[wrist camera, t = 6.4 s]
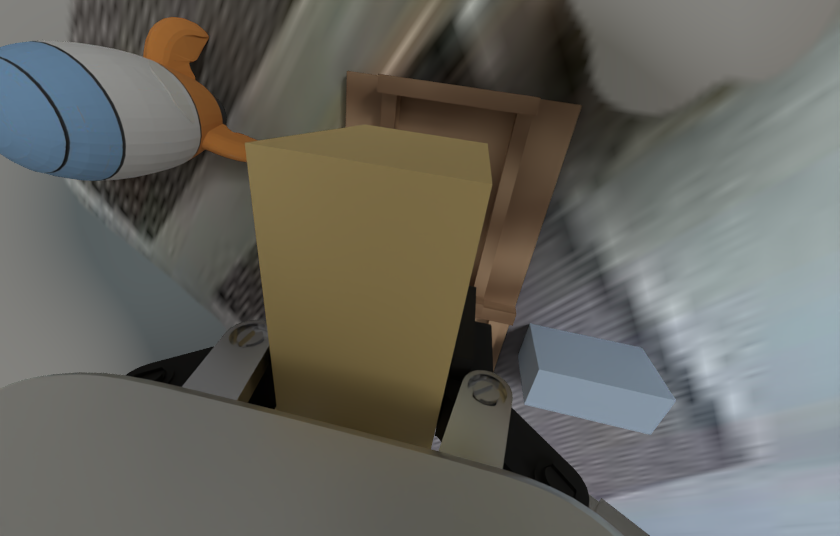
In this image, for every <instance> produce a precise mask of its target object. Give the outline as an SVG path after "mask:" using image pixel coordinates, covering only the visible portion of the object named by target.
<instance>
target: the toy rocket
mask: <svg viewBox="0 0 840 536" xmlns="http://www.w3.org/2000/svg"><path fill="white" fill-rule="evenodd" d="M208 39H209V36H208V34H207V33H206V32H205V31H204V30H203V29H202V28H201V27H200V26H198V25H197V24H196V23H193V22H191V21H188V20H186V19H184V18H177V17H170V18H164V19H162V20H161V21H159V22H157V23H155V25H154V26H153V27H152V28H151V29H150V31H149V33H148V35H147V38H146V40H145V47H144V55H143V57H141V56H139V55H136V54H132V53H129V52H125V51H121V50H117V49H112V48H107V47H101V46H96V45H89V44H82V43H74V42H62V41H30V42H22V43H15V44H10V45H6V46H3V47H0V154H1V155H3V156H5V157H6V158H8V159H9V160H11V161H13V162H15V163H17V164H19V165H21V166H23V167H25V168H27V169H30V170H33V171H35V172H41V173H46V174H50V175H53V176H58V177H64V178H70V179H77V180H90V181H101V180H118V179H126V178H133V177H138V176H143V175H148V174H152V173H156V172H160V171H164V170H167V169H170V168H173V167H176V166H179V165H181V164H183V163H185V162H187V161H188V160H190V159H192V158H194V157H195V156H197V155H198V154H200V153H201V152H203V151H204V150H208V151H210V152H213V153H215V154H218V155H220V156H223V157H226V158H229V159H233V160H237V161H242V162H247V158H246V150H245V143H246V142H252V141H258V140H255V139H253V138H250V137H248V136H246V135H243V134H240V133H234V132H232V131H231V130H229V129H228V128H227V126H226V118H227V117H226V112H225V109H224V107H223V105H222V104H221V102H220V101H219V100H218V99H217V98H216V97H215V96H213V95H212V94H211V93H210V92H209V91H208V90H207V89H206V88H205V87H204V86H203V85H201V84H200V83H199V82H197V81H195V76H194V74H193V73H192V71H191V68H190V65H189V63H191V62H194V61H196V60H197V59H198V57H199V55H200V53H201V51H202V50H203V48H204V46H205V44H206V42H207V40H208Z"/></svg>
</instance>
